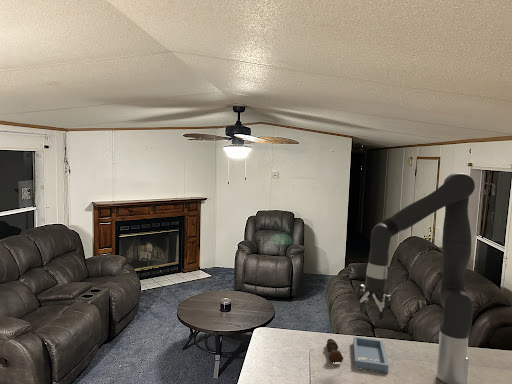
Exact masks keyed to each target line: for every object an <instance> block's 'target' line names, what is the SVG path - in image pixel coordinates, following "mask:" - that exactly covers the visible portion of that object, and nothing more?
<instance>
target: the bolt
mask: <svg viewBox="0 0 512 384" xmlns="http://www.w3.org/2000/svg"><path fill="white" fill-rule="evenodd" d="M325 347H326V350H327V351H328V352H329V354H328V355H327V358H328V361H329V362H330V364H331V363H333V362H334V363H335V362H341V363H342V362H343V360H344V356H343V355H342V353H341V350H338V349H339V345H338V343H337V342H336V340H334V339H332V338H328V339H327V340H326V345H325Z"/></svg>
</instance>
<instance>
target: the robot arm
mask: <svg viewBox="0 0 512 384" xmlns="http://www.w3.org/2000/svg"><path fill="white" fill-rule="evenodd" d="M475 188H476V184H475V181H474V179H473V178H472V176H471V175H469V174H467V173H465V172H454V173H450V174H449V175H448V176H446V178H444V182H443V184H442V185H440V186H439V187H438V188H436V190H434V191H432V192H430V193H429V194H427V195H426V196H424V197H422V198H421V199H418V200H416V201H414V202H412V203H410V204H408V205H407V206H405V207H403V208H401V209H400V210H398V211H397V212H396V213H394V214H392V215H391V216H390V217H387V218H386V219H384V220H382V221H381V222H379V223H377V224H375V225H374V226H373V228H372V229H371V235H370V250H369V255H368V263H367V267H366V274H365V282H364V283H365V284H360V285H358V287H357V291H356V300H357V301H359V302H360V304H359V310H360V313H362V314H363V313H365V312H366V310H367V309H366V308H367V302H368V301H372V302H373V303H376V305H377V307H378V308H379V309H378V310H379V312H378V319H377V320H378V321H379V322H382V321H384V320H385V318H386V313H387V312H391V310H392V300H393V299H392V298H393V297H392V295H391V294H386V292H385V289H386V285H387V278H388V263H389V254H390V253H389V250H390V249H389V248H390V245H391V244H390V243H391V239H392V237H394V236H395V235H397V234H398V233H400V232H402V231H405V230H408V229H409V228H411V227H413V226H414V225H416V224H418V223H419V222H421V221H423V220H424V219H425V218H428V216H430V215H432V214H434V213H435V212H437V211H439V210H440V209H443V208H444V209H445V211H444V218H443V227H442V240H441V241H442V243H441V244H442V245H441V249H442V250H441V251H442V256H441V257H442V259H441V261H442V278H441V284H440V291H439V302H440V304H441V306H442V308H443V309H444V310H443V320H442V322H440V325H439V334H438V336H439V337H438V348H437V349H438V352H437V364H436V365H437V366H436V377H437V379H438V380H439V381H441V382H443V383H444V384H468V378H469V377H468V376H469V364H470V363H469V361H470V359H469V358H468V348H469V347H468V346H469V345H468V344H469V335H470V332H471V330H472V326H473V324H472V322H473V315H474V303H473V300H472V298H471V297H470V296H469V295H468V294H467V293H466V290H465V288H466V287H465V273H466V269H467V267H468V265H469V262H470V259H471V255H472V231H471V230H472V229H471V223H470V219H469V212H468V210H469V209H468V208H469V199H470V196H471V195H472V194H473V192H474V191H475Z"/></svg>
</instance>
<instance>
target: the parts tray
mask: <svg viewBox="0 0 512 384" xmlns="http://www.w3.org/2000/svg"><path fill="white" fill-rule="evenodd" d="M352 338H353V339H352V342H353V343H352V348H353V361H355V363H354V368H355V367H356V368H362V369H361V370H363V369H366V370H365V371H369V370H373V371H372V372H376V371H379V372H378V373H385V374H389V368H390V367H389V361H388V358H387V352H386V349H385V345H384V340H382V339H374V338H373V339H372V338H368V337H358V336H353V337H352ZM358 357H365V358H368V359H366V360H361V359H360V360H358ZM370 359H373V360H370ZM375 359H377V361H374V360H375ZM378 359H379V361H378ZM356 368H355V369H356Z"/></svg>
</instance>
